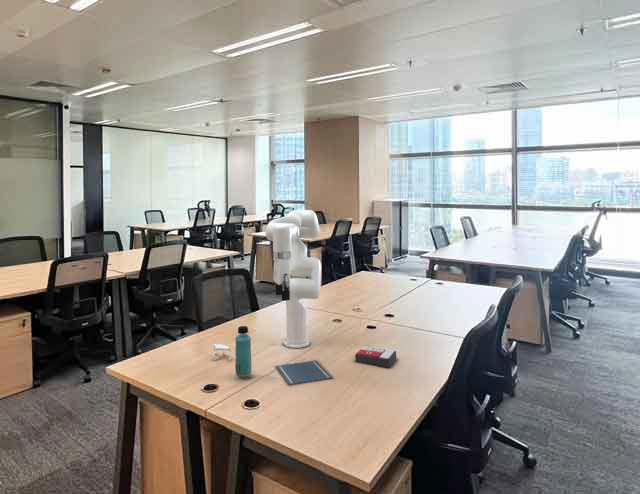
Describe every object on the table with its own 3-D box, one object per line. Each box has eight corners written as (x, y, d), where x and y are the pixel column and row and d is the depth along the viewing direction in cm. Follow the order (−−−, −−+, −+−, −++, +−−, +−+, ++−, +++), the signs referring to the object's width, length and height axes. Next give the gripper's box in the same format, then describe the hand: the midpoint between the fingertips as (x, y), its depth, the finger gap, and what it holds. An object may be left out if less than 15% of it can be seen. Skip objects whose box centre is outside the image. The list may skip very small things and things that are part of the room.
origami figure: (205, 360, 188) (205, 348, 188) (215, 353, 195) (215, 342, 195) (229, 363, 183) (229, 352, 184) (238, 356, 191) (238, 345, 191)
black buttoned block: (363, 344, 194) (396, 348, 187) (364, 354, 194) (396, 358, 187) (354, 353, 185) (388, 357, 177) (355, 363, 184) (389, 368, 177)
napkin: (276, 366, 180) (276, 366, 180) (315, 361, 185) (315, 360, 185) (289, 385, 163) (289, 384, 163) (332, 378, 168) (332, 377, 168)
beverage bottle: (254, 374, 172) (254, 325, 172) (247, 381, 166) (247, 330, 166) (239, 372, 174) (239, 323, 174) (232, 379, 168) (232, 328, 168)
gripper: (268, 253, 181) (268, 293, 181) (278, 258, 164) (278, 303, 164) (285, 252, 183) (285, 292, 183) (297, 257, 166) (297, 301, 166)
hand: (282, 297), depth 173 cm, fingers open, 9 cm apart
